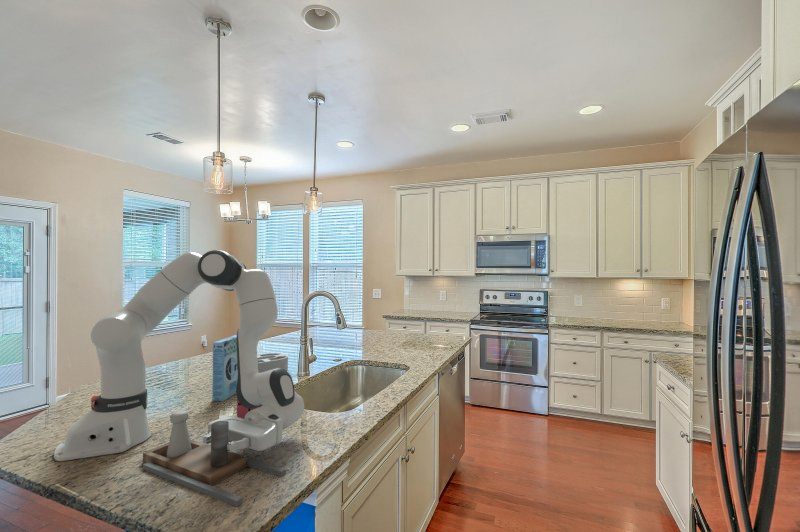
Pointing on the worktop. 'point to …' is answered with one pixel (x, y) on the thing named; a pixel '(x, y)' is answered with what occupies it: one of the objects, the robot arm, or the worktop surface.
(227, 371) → the gum box
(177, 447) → the salt shaker
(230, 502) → the rails
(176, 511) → the worktop surface
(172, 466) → the wooden tray on runners
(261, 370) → the ice cube tray
